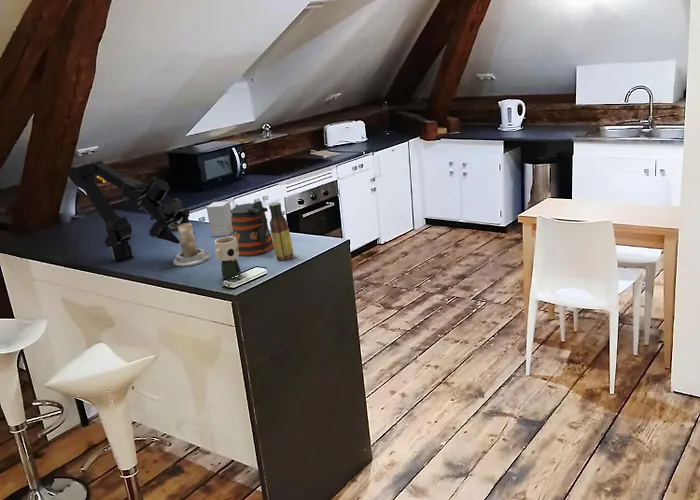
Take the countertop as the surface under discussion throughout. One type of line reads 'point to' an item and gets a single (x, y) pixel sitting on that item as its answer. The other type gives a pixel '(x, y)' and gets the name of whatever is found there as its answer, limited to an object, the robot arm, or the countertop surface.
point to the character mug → (228, 256)
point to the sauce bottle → (280, 233)
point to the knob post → (187, 239)
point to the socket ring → (191, 259)
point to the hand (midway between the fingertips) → (186, 238)
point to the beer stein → (251, 229)
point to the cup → (174, 226)
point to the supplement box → (220, 218)
